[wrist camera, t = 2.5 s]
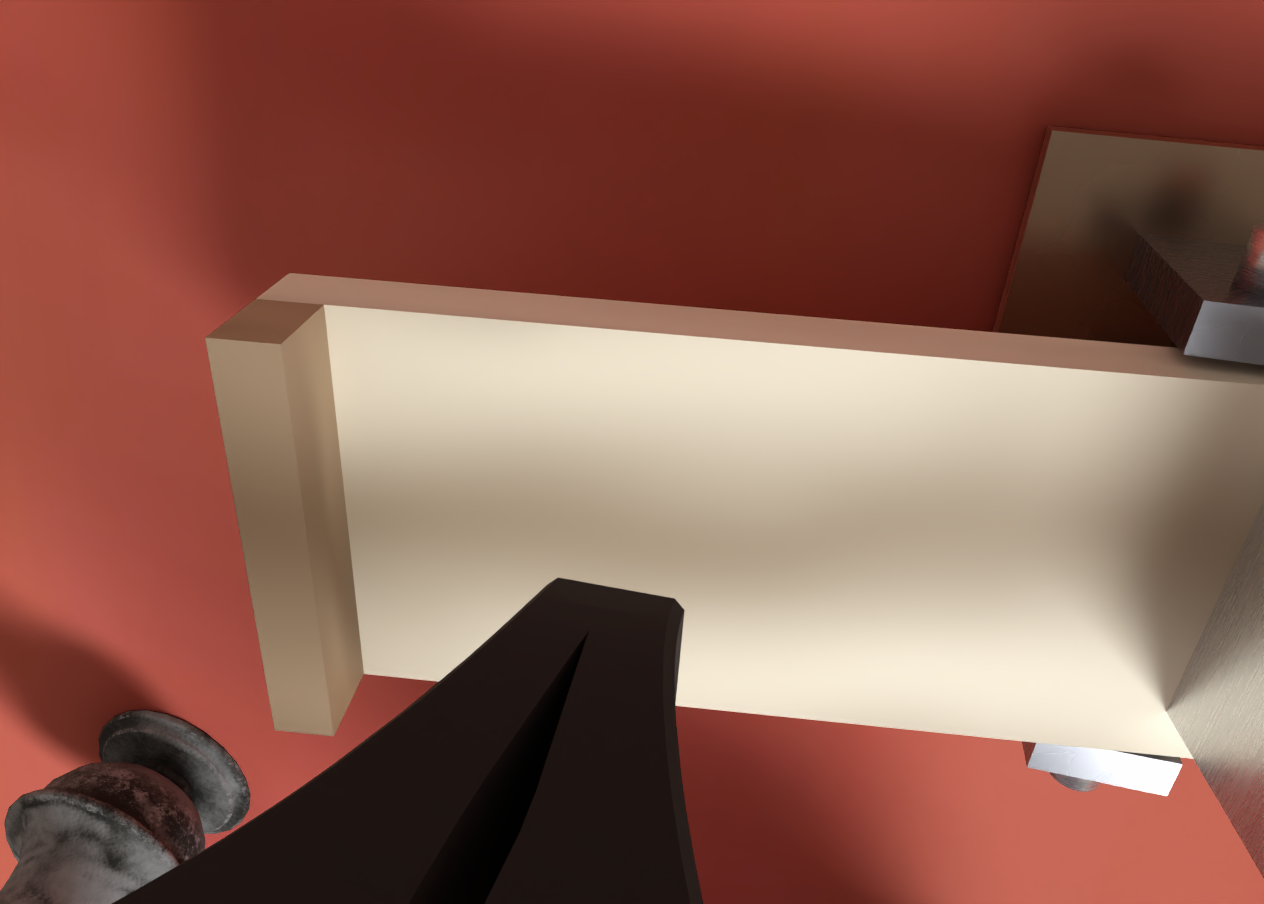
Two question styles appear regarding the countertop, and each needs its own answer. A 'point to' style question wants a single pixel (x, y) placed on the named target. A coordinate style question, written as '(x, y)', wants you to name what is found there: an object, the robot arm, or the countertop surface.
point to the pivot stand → (1138, 295)
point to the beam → (737, 501)
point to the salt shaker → (123, 813)
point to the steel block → (1231, 696)
